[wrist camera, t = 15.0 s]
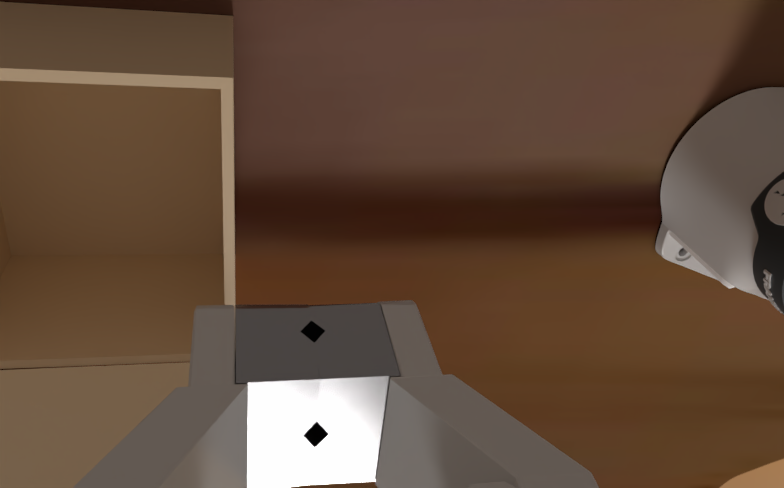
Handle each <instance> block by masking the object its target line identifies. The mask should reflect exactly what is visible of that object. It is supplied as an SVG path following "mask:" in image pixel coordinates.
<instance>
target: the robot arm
mask: <svg viewBox="0 0 784 488" xmlns="http://www.w3.org/2000/svg"><path fill="white" fill-rule="evenodd" d="M660 199H661V209H662V224H661V227H660V230H659V233H658V236H657V240H656V246H655V248H656V251H657V253H658V254H659V255H661V256H662V257H663V258H665V259H666V260H669V261H671V262H674V263H676V264H679V265H681V266H684V267H686V268H689V269H691V270H694V271H696V272H699V273H701V274H704V275H706V276H709V277H711V278H714V279H717V280H719V281H720V282H721V283H722V284H723V285H725V286H726V287H728V288H733V287H736V288H738V289H740V290H742V291H745V292H748V293H751V294H754V295H757V296H759V297H762V298H765V299H768V300H769V301H770V302H771V303H772V305H773V306H774V307H775V308H776V309H777V310H778V311H779V312H781V313H782V314H784V87H766V88H759V89H754V90H751V91H747V92H744V93H741V94H739V95H736V96H734V97H732V98H730V99H728V100H726V101H724V102H723V103H721V104H719V105H718V106H716V107H715V108H713V109H712V110H710V111H709V112H708V113H707V114H705V115H704V116H703V117H702V118H701V119H700V120H698V121H697V122H696V123H695V124H694V125H693V126H692V127H691V129H690V130H689V131H688V132H687V133H686V134H685V136H684V137H683V138H682V140H681V141H680V142H679V144H678V145H677V147H676V148H675V150H674V152H673V154H672V155H671V157H670V159H669V162H668V164H667V166H666V169H665V172H664V175H663V179H662V184H661V194H660ZM682 248H683V249H682ZM681 249H682V250H681ZM680 250H681V251H680ZM374 481H376V486H377V487H378V488H599V487H598V485H597V483H596V481H595V479H594V477H593V475H592V473H591V472H590V471H588V470H587V469H585V468H584V467H583V466H581V465H580V464H578V463H577V462H576V461H574V460H573V459H571V458H570V457H568V456H567V455H566V454H564V453H563V452H561V451H560V450H559V449H557V448H556V447H554V446H553V445H551V444H550V443H549V442H547V441H546V440H544V439H543V438H542V437H540V436H539V435H537V434H536V433H535V432H533V431H532V430H530V429H529V428H527V427H526V426H525V425H523V424H522V423H520V422H519V421H518V420H516V419H515V418H513V417H512V416H510V415H509V414H508V413H506V412H505V411H503V410H502V409H501V408H499V407H498V406H496V405H495V404H493V403H492V402H491V401H489V400H488V399H486V398H485V397H484V396H482V395H481V394H479V393H478V392H476V391H475V390H474V389H472V388H471V387H469V386H468V385H467V384H465V383H464V382H462V381H461V380H460V379H458V378H457V377H455V376H454V375H442V372H441V370H440V367H439V364H438V362H437V359H436V356H435V353H434V351H433V348H432V345H431V343H430V340H429V337H428V335H427V332H426V329H425V327H424V324H423V321H422V318H421V316H420V313H419V310H418V308H417V305H416V303H414V302H413V301H412V300H405V301H386V302H378V303H363V304H332V305H235V308H234V306H233V305H198V306H196V308H195V311H194V319H193V331H192V344H191V357H190V369H189V382H188V387H177V388H175V389H174V390H173V391H172V392H171V393H170V394H169V395H168V396H167V397H166V398H165V399H164V400H163V401H162V402H161V403H160V404H159V405H158V406H157V407H156V408H155V409H154V410H153V411H152V412H151V413H149V414H148V415H147V416H146V417H145V418H144V419H143V420H142V421H141V422H140V423H139V424H138V425H137V426H136V427H135V428H134V429H133V430H132V431H131V432H130V433H129V434H128V435H127V436H126V437H125V438H124V439H123V440H122V441H120V442H119V443H118V444H117V445H116V446H115V447H114V448H113V449H112V450H111V451H110V452H109V453H108V454H107V455H106V456H105V457H104V458H103V459H102V460H101V461H100V462H99V463H98V464H97V465H96V466H95V467H94V468H93V469H91V470H90V471H89V472H88V473H87V474H86V475H85V476H84V477H83V478H82V479H81V480H80V481H79V482H78V483H77V484H76V485H75V486H74V487H73V488H284V487H294V486H303V485H312V484H313V485H314V484H334V483H354V482H374Z"/></svg>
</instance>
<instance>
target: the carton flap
mask: <svg viewBox="0 0 784 488" xmlns="http://www.w3.org/2000/svg"><path fill="white" fill-rule="evenodd" d="M189 369H190V363H165V364H140V365H115V366H90V367H66V368H41V369H16V370H0V488H73V487H74V486H75V485H76V484H77V483H78V482H79V481H80V480H81V479H82V478H83V477H84V476H85V475H86V474H87V473H88V472H89V471H90V470H91V469H93V468H94V467H95V466H96V465H97V464H98V463H99V462H100V461H101V460H102V459H103V458H104V457H105V456H106V455H107V454H108V453H109V452H110V451H111V450H112V449H113V448H114V447H115V446H116V445H117V444H118V443H119V442H120V441H122V440H123V439H124V438H125V437H126V436H127V435H128V434H129V433H130V432H131V431H132V430H133V429H134V428H135V427H136V426H137V425H138V424H139V423H140V422H141V421H142V420H143V419H144V418H145V417H146V416H147V415H148V414H149V413H151V412H152V411H153V410H154V409H155V408H156V407H157V406H158V405H159V404H160V403H161V402H162V401H163V400H164V399H165V398H166V397H167V396H168V395H169V394H170V393H171V392H172V391H173V390H174V389H175V388H177V387H188V382H189Z"/></svg>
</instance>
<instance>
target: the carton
mask: <svg viewBox="0 0 784 488" xmlns="http://www.w3.org/2000/svg"><path fill="white" fill-rule="evenodd" d="M198 305H233V306H234V308H235V174H234V45H233V16H229V15H212V14H196V13H179V12H163V11H146V10H130V9H113V8H96V7H80V6H63V5H47V4H30V3H14V2H0V369H13V368H38V367H63V366H88V365H113V364H138V363H163V362H189V361H190V357H191V344H192V331H193V319H194V311H195V308H196V306H198Z"/></svg>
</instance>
